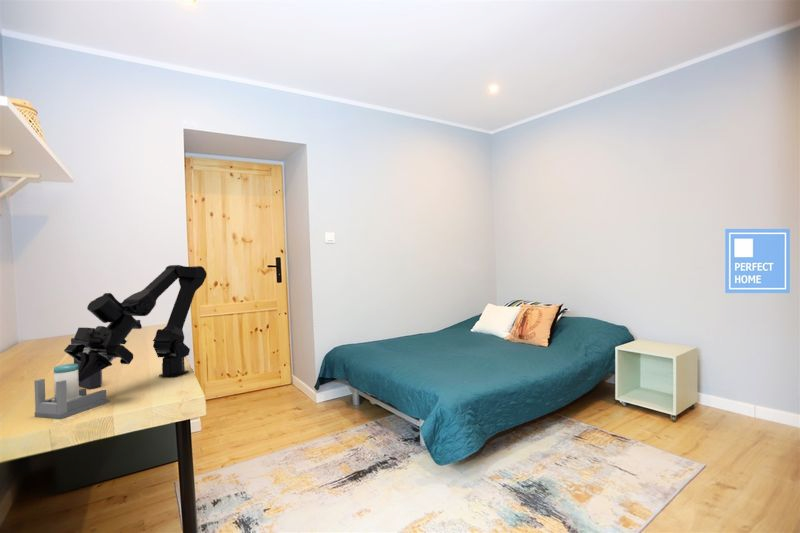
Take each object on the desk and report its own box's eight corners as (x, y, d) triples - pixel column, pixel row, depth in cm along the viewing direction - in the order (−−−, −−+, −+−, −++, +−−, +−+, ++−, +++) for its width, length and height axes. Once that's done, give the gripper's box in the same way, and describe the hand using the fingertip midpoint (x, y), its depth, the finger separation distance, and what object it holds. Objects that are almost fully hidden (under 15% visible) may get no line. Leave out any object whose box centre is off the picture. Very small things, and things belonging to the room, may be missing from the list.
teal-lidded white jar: (69, 402, 104) (68, 363, 104) (84, 404, 103) (83, 363, 103) (49, 409, 100) (48, 368, 99) (64, 410, 98) (63, 368, 98)
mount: (84, 400, 110) (83, 367, 110) (109, 401, 107) (108, 369, 107) (34, 416, 98) (33, 380, 98) (61, 418, 96) (60, 381, 96)
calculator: (104, 386, 123) (102, 338, 123) (87, 390, 119) (86, 340, 119) (88, 381, 128) (86, 335, 128) (72, 385, 125) (70, 338, 125)
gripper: (70, 315, 111) (25, 363, 101) (122, 315, 107) (81, 366, 96) (98, 338, 119) (60, 385, 108) (148, 339, 114) (113, 388, 104)
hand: (77, 381), depth 104 cm, fingers closed, pressing on teal-lidded white jar
